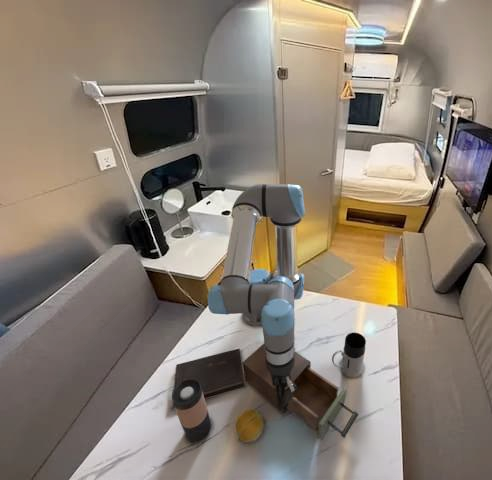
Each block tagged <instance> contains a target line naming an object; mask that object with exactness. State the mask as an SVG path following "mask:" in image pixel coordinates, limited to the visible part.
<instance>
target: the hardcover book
mask: <svg viewBox="0 0 492 480" xmlns="http://www.w3.org/2000/svg"><path fill="white" fill-rule="evenodd" d="M175 365H176V366H175V374H174V384H173V385H174V386H173V390H174V389H176V388H177V387H178V386H179V385H180V384H181V382H183V381H185V380H188V379H194V380H197V381H198V382H199V383H200V385H201V389H202V392H203V395H204V398H205V400H206V399H209V398H212V397H215V396H219V395H222V394H225V393H229V392H232V391H235V390H238V389H242V388H245V387H246V386H245V376H244V370H243V364H242V356H241V349H240V348H235V349H232V350H228V351H223V352H219V353H216V354H212V355H208V356H204V357H200V358H196V359H193V360H189V361H185V362H182V363H177V364H175ZM172 407H173V409H175V407H174V404H173V403H172Z"/></svg>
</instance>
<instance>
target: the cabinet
mask: <svg viewBox="0 0 492 480" xmlns="http://www.w3.org/2000/svg"><path fill="white" fill-rule="evenodd" d="M294 352H295V364H294V367H293V369H292V370H291V377H292V378H291V383H294V382H295V381H296V379H297V378H298V377H299V376H300V375H301V374H302V373H303V371H304V370H305V369H306V368H307V367H309V368H311V366H312V365H311V362H312V361H310V360H309V359H308V358H306V357H304V356H303V355H301V354H300V353H299V352H297V351H296V350H294ZM241 363H242V370H243V377H244V382H246V383H247V384H248V385H250V386H251V387H252V388H253V389H254V390H255V391H257V392H258V393H259V394H260V395H261V396H263V397H264V398H265V399H266V400H267V401H268V402H270V404H272V405H273V406H274V407H276V408H277V409H278V406H277V392H276V391H275V386H273V385H272V380H271V375H270V372H269V371H268V370H267V367H266V360H265V353H264V343H262V344H261V345H260V346H259V347H258V348H257V349H256V350H255V351H254V352H252V353H251V354H250V355H249V356H247V358H245V359H244V360H243V361H241ZM286 410H287V408H284V409H283V410H281V411H280V412H282V413H284V412H285V411H286Z"/></svg>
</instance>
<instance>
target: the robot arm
mask: <svg viewBox="0 0 492 480" xmlns="http://www.w3.org/2000/svg"><path fill="white" fill-rule="evenodd" d="M230 216H231V219H232V224H231V230H230V235H229V239H228V244H227V250H226V254H225V259H224V265H223V271H222V275H221V280H220V284H216V285H212V286H211V287H210V289H209V291H208V293H207V307H208V310H209V312H210V313H211V314H214V315H226V316H227V315H234V314H235V315H236V314H242V319H243V322H244V323H245V324H247V325H248V326H251V327H261V329H262V335H263V344H264V353H265V360H266V367H267V370H268V371H269V372H270V375H271V380H272V385H273V386H275V391H276V392H277V406H278V408H277V409H278V410H279V412H282V411H281V410H283V409H284V408H286V407H287V406H288V402H289V401H290V400H292V398H293V395H294V391H295V390H296V389H297V386H296V385H295V384H294V383H291V378H292V377H291V370H292V369H293V367H294V364H295V352H296V351H295V341H296V338H295V323H296V322H295V321H296V317H295V315H296V313H295V300H301V299H302V297H303V295H304V288H305V274H304V273H302V272H301V270H300V268H298V225H299V224H300V223H301V222H302V218H304V217H305V216H306V210H305V201H304V193H303V188H302V187H301V185H298V184H290V183H287V184H277V183H276V184H274V183H273V184H272V183H270V184H269V183H267V184H264V183H258V184H254V185H251V186H249V187H248V188H246V189H244V191H242V192H241V193H240V194H239V195H238V196H237V198H236V199H235V201H234V202H233V205H232V208H231V214H230ZM262 217H263V218H269V220H270V223H271V225H273V226H274V237H275V238H274V239H275V252H276V270H275V271H274V272H273V273H270V272H269V271H268V270H267V269H265V268H254V269H252V265H253V264H252V263H253V254H254V247H255V238H256V231H257V224H258V223H259V222H260V219H261V218H262ZM294 351H295V352H294ZM286 409H287V408H286Z"/></svg>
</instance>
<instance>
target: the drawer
mask: <svg viewBox="0 0 492 480" xmlns="http://www.w3.org/2000/svg"><path fill="white" fill-rule="evenodd" d="M294 384H295V385H296V386H297V389H296V390H295V391H294V395H293V398H292V400H290V401H289V402H288V406H287V407H286V409H287V410H289V411H290V412H291V413H292V414H294V416H296V417H297V418H299V419H300V421H302V422H303V423H305V425H307V426H308V427H309V428H311V429H312V430H313V431H314V432H315V433H316V432H318V433H317V438H318V439H319V441H322V440H323V438H324V437H325V435H326V434H327V432H328V430H330V428H333V429H334V430H335V431H336V432H337V433H339V434H340V437H342V438H344V439H345V438H346V437H347V435H348V433H349V432H350V430H351V428H352V426H353V425H354V423H355V421H356V420H357V418H358V416H359V413H358V412H357V411H354V410H352V409H351V408H350V407H348V406H347V405H345V402H346V395H347V389H346V388H345V387H342V389H341V390H340V391H339V387H338V386H337V385H336V384H334V383H333V382H331V381H330V380H328V379H327V378H326V377H324V376H323V375H321V374H320V373H318V372H317V371H315V370H314V369H312V368H311V367H310V368H309V367H307V368H306V369H305V370H304V371H303V373H302V374H301V375H300V376H299V377H298V378H297V379H296V381H295V382H294ZM343 408H344V409H345V410H347V411H348V412H349V413H350V414H351V416H350V418H349V419H348V421H347V422H346V424H345V426H344V427H343V429H342V430H341V429H340V428H339V427H337V426H336V425H335V424H333V423H334V421H335V420H336V418H337V417H338V415H339V414H340V412H341V411H342V410H343Z"/></svg>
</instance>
